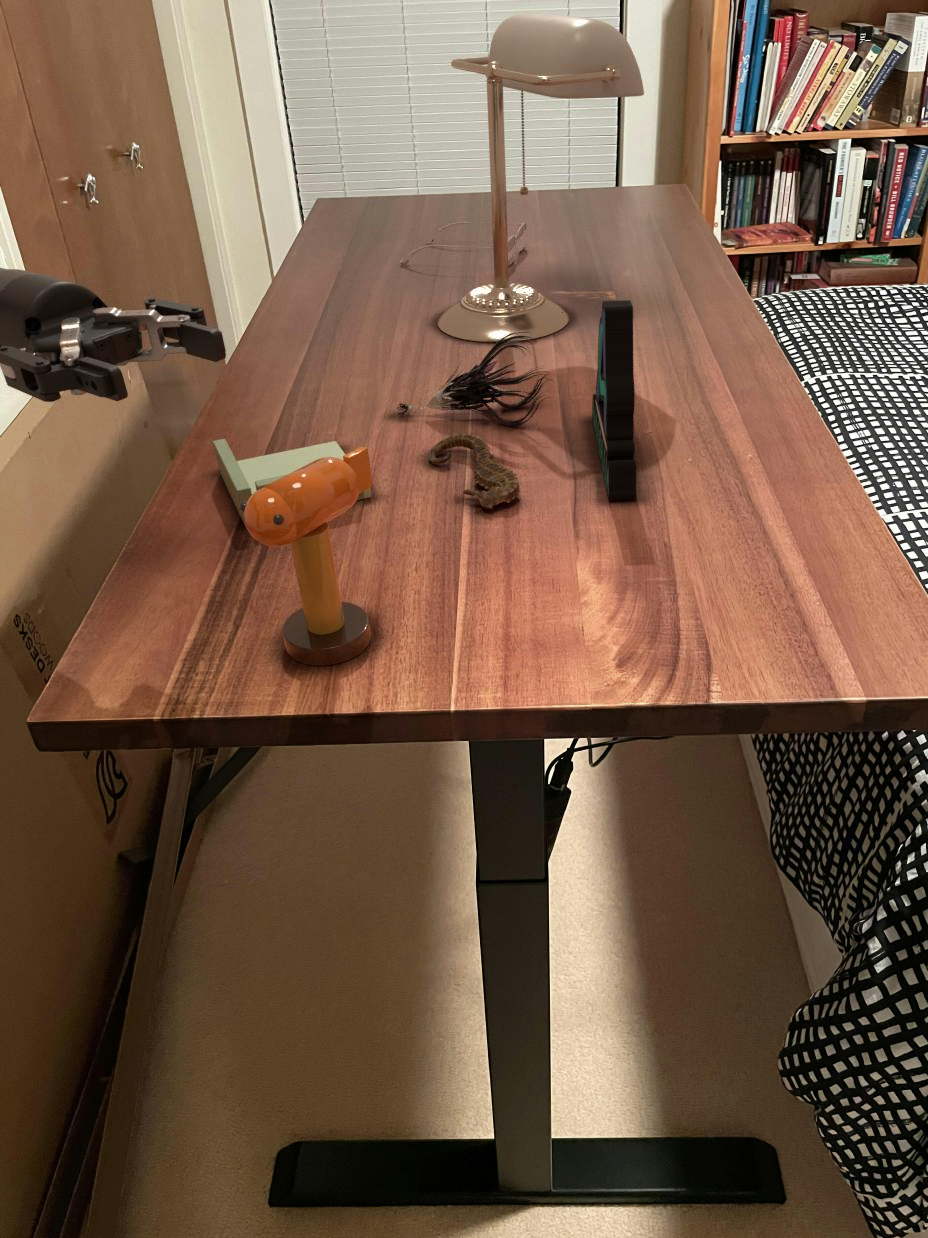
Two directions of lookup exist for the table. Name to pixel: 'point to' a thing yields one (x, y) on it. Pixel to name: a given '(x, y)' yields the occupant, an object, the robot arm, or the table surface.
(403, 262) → the eyeglasses
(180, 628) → the table surface
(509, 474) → the seahorse
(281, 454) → the corner tray
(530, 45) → the lamp
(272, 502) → the goldfish figurine
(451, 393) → the feather lure
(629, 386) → the decorative sign
